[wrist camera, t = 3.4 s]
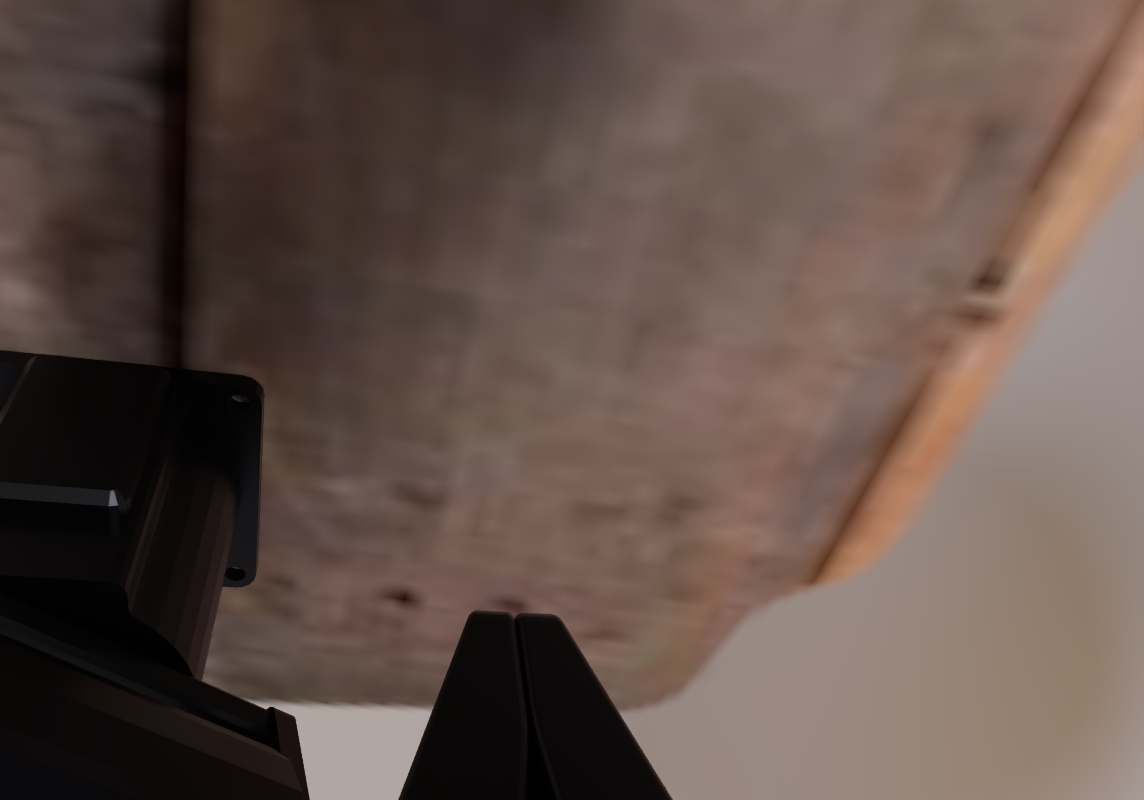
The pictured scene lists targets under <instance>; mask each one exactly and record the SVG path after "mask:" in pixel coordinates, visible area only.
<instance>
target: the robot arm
mask: <svg viewBox="0 0 1144 800" xmlns="http://www.w3.org/2000/svg"><path fill="white" fill-rule="evenodd" d="M233 395H241V396H245V397H246V398H247V399H248V400H249V401H246V402H239V401H236V400H234V399H233V398H232V397H231V396H233ZM264 398H265V395H264V390H263V388H262V386H261V385H260V384H259V382H257V381H256V380H254V379H252V378H251V377H247V376H243V375H236V374H226V373H216V372H207V371H197V370H187V369H177V368H168V367H158V366H152V365H142V364H133V363H123V362H113V361H104V360H94V359H84V358H75V357H65V356H55V355H46V354H32V353H23V352H13V351H3V350H0V800H310V799H309V793H308V788H307V782H306V776H305V770H304V765H303V759H302V753H301V747H300V743H299V736H298V731H297V725H296V719H295V717H294V716H292V715H290V714H287V713H285V712H283V711H280V710H278V709H276V708H274V707H269V708H268V709H264V708H262V707H259V706H257V705H255V704H253V703H250V702H248V701H246V700H244V699H241V698H239V697H237V696H235V695H232V694H230V693H228V692H225V691H223V690H221V689H219V688H216V687H214V686H212V685H210V684H207V683H205V682H203V681H202V678H203V673H204V669H205V664H206V660H207V655H208V650H209V646H210V641H211V637H212V632H213V627H214V623H215V618H216V613H217V609H218V604H219V600H220V595H221V590H222V587H243V586H246V585H249V584H250V583H251V582H253V581H254V579H255V576H256V571H257V566H258V548H259V523H260V498H261V473H262V448H263V423H264ZM232 567H238V568H241V569H235V568H232ZM399 800H672V798H671V796H670V795H669V793H668V791H667V790H666V788H665V786H664V785H663V783H662V782H661V780H660V778H659V777H658V775H657V774H656V772H655V771H654V769H653V767H652V765H651V764H650V762H649V761H648V759H647V757H646V756H645V754H644V753H643V751H642V749H641V748H640V746H639V745H638V743H637V741H636V740H635V738H634V736H633V735H632V733H631V732H630V730H629V728H628V727H627V725H626V723H625V722H624V720H623V719H622V717H621V715H620V714H619V712H618V710H617V709H616V707H615V706H614V704H613V702H612V701H611V699H610V698H609V696H608V694H607V693H606V691H605V689H604V688H603V686H602V685H601V683H600V681H599V680H598V678H597V676H596V675H595V673H594V672H593V670H592V668H591V667H590V665H589V664H588V662H587V660H586V659H585V657H584V655H583V654H582V652H581V651H580V649H579V647H578V646H577V644H576V643H575V641H574V639H573V638H572V636H571V634H570V633H569V631H568V630H567V628H566V626H565V625H564V623H563V622H562V620H561V619H560V618H559V617H557V616H555V615H552V614H537V613H519V614H517V615H516V616H515V618H514V617H513V615H512V614H510V613H508V612H499V611H480V610H477V611H473V612H472V613H471V614H470V615H469V617H468V619H467V621H466V624H465V627H464V629H463V632H462V634H461V637H460V640H459V642H458V645H457V648H456V650H455V653H454V655H453V658H452V661H451V663H450V666H449V669H448V671H447V674H446V676H445V679H444V682H443V684H442V687H441V689H440V692H439V695H438V697H437V700H436V703H435V705H434V708H433V710H432V713H431V716H430V718H429V721H428V724H427V726H426V729H425V731H424V734H423V737H422V739H421V742H420V744H419V747H418V750H417V752H416V755H415V758H414V760H413V763H412V766H411V768H410V771H409V773H408V776H407V779H406V781H405V784H404V786H403V789H402V792H401V795H400V797H399Z"/></svg>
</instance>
